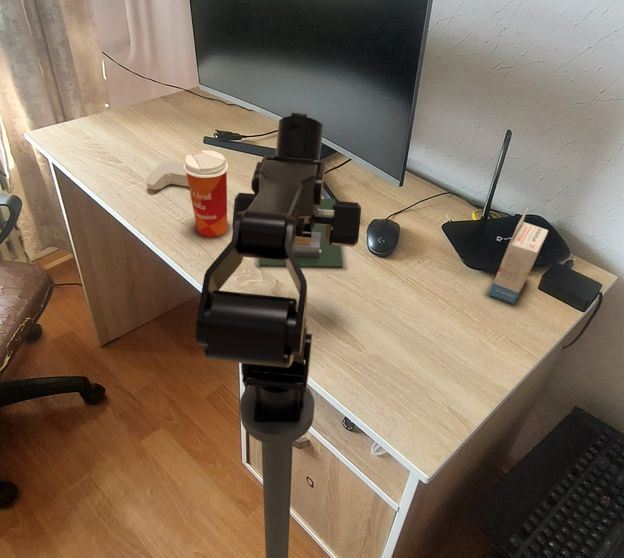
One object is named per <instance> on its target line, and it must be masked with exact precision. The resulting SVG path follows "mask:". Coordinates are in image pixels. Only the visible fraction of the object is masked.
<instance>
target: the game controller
mask: <svg viewBox="0 0 624 558" xmlns="http://www.w3.org/2000/svg"><path fill="white" fill-rule="evenodd" d="M184 163H185V162H178V161H177V160H167V161H163V162H162V163H160V164H159V165H158V166H157V167H155V168H154V169H153V170H152V171H151V172H150V173H149V175H148V176H147V178H146V186H147V188H149V189H150V190H155V191H158V190H161V189H163V188H165V187H167V186H169V185H170V184H172V185H177V186H183V187H188V188H189V185H188V180H187V174H186V172H185V171H184V168H183V166H184Z"/></svg>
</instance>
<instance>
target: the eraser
mask: <svg viewBox="0 0 624 558" xmlns="http://www.w3.org/2000/svg"><path fill="white" fill-rule="evenodd" d="M320 241H321V233H319V232H312V234H311V239H305V238H295V245H294V256H299V257H311V258H319V251H320Z"/></svg>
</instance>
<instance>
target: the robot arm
mask: <svg viewBox="0 0 624 558" xmlns="http://www.w3.org/2000/svg"><path fill="white" fill-rule="evenodd" d="M277 129H278V130H277V138H276V149H275V155H273V154H264V155H263V157H262V159H261V161H257V163H256V167H255V169H254V172H253V175H252V178H251V185H250V186H251V188H250V189H251V190H252V192H253V193H249V192H238V193H237V194H236V195H235V197H234V202H233V211H232V212H233V214H232V227H231V229H232V235H231V240H230V242H229V243H228V244H227V246H225V248H224V249H223V250H222V251H221V253H220V254H219V255H218V256H217V257H216V259H215V260H214V261H213V262H212V263H211V264H210V265H209V267H208V268H206V271H205V273H204V274H203V282H202V288H201V294H200V299H199V304H198V309H197V315H196V323H195V336H196V337H195V338H196V343H197V345H199V346H203V351H202V352H203V355H204V357H205V359H207V360H208V361H215V362H216V361H217V362H227V363H236V364H241V365H240V369H241V376H242V380H241V381H242V383H243V386H244V387H248V386H254V397H255V404H254V421H255V422H299V421H300V409H303V408H304V393H305V392H306V390H307V388H308V382H309V381H308V380H309V375H310V374H309V373H310V365H311V353H312V342H313V334H312V333H308V330H309V329H308V325H307V319H306V315H307V307H308V283H307V279H306V277H305V275H304V273H303V270H302V269H301V268H302V267H300V266H299V264H298V262H297V260H296V258H295V256H294V245H295V238H305V239H311V234H312V230H313V228H314V226H315V225H318V226H327V227H326V236H325V238H326V240H327V241H328V243H329V245H338V246H341V247H351V248H354V247H355V246H356V245H357V244H358V243H359V237H360V227H361V226H360V225H361V215H362V206H361V205H360V204H359V202H354V201H341V200H335V205H333V207H332V210H323V209H316V208H315V207H317V206H320V205H321V199H323V198H322V197H323V191H324V190H323V189H324V181H325V175H326V174H325V173H326V164H327V160H326V159H321V149H322V141H323V139H322V138H323V131H324V124H323V123H321V122H320V121H319V120H317V119H314V118H311V117H308V113H301V112H291V115H288V116H285V117H282V118H281V119H279V120H278V128H277ZM316 214H317V216H319V215H320V217H317V216H316ZM321 215H322V216H323V217H321ZM324 215H325V217H324ZM329 215H330V218H329ZM326 216H328V217H326ZM244 258H251V259H259V258H260V259H271V260H281V261H284V260H285V259H286V264H287V267H286V269H287V271H288V273H289V275H290V277H291V280H292V282H293V284H294V286H295V288H296V290H297V292H298V300H297V299H296V298H295V297H287V296H286V297H284V296H275V295H267V294H257V293H247V292H238V291H227V290H221V289H222V287H223V286H224V285H225V283H226V282H227V281H228V280H229V279H230V277H232V275H233V274H234V273H235V271H236V270H237V269H238V268H239V267H240V266H241V264H242V263H243V261H244ZM256 418H259V419H256ZM295 418H298V419H295Z"/></svg>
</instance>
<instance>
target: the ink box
mask: <svg viewBox="0 0 624 558" xmlns="http://www.w3.org/2000/svg"><path fill="white" fill-rule="evenodd" d="M529 208H530V207H527V208H526V209H525V211H524V213H523V214H522V216H521V217H520V220H519V222H518V223H517V225H516V227H515V229H514V232H513V234H512V236H511V238H510V240H509V242H508V245H507V247H506V250H505V253H504V255H503V258H502V260H501V262H500V266H499V268H498V271H497V272H496V275H495V277H494V280H493V283H492V285H491V288H490V291H489V294H488V295H489V296H490V297H493V298H495V299H499V300H501V301H504V302H506V303H509V304H512V305H514V304H515V302H516V300H517V298H518V296H519V295H520V293H521V291H522V289H523V287H524V285H525V282H526V281H527V278H528V277H529V274H530V272H531V270H532V268H533V267H534V264H535V262H536V259H537V257H538V255H539V253H540V250H541V249H542V246H543V244H544V241H545V240H546V238H547V236H548V233H549V230H548V229H547V228H543V227H540V226H537V225H534V224H531V223H528V222H525V221H524V220H525V218H526V215H527V213H528V210H529Z"/></svg>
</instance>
